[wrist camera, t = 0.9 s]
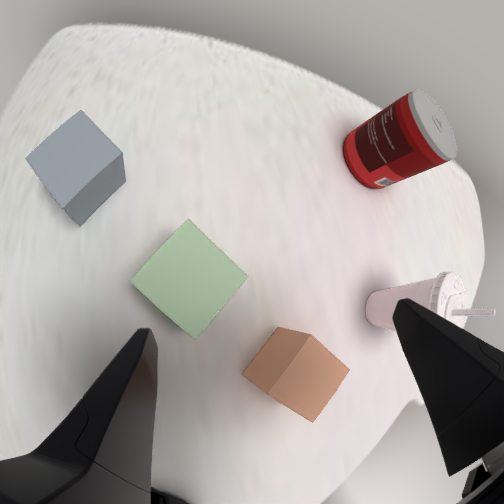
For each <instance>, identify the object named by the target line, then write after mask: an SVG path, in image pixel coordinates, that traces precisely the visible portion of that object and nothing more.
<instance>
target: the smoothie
mask: <svg viewBox="0 0 504 504" xmlns="http://www.w3.org/2000/svg"><path fill="white" fill-rule="evenodd" d="M404 298H409V299H411V300H413V301H415V302H416V303H418V304H420V305H422V306H424V307H425V308H427V309H429V310H431V311H433V312H434V313H436V314H438V315H440V316H441V317H443V318H445V319H447V320H448V321H450V322H452V323H454V324H455V325H457V326H459V327H460V328H463V325H464V321H465V316H487V315H495V313H496V309H495V308H485V309H484V308H483V309H466V294H465V288H464V285H463V282H462V280H461V278H460V276H459V275H458V274H457V273H455V272H443V273H440V274H439V275H438V276H437V278H432V279H428V280H424V281H420V282H416V283H412V284H407V285H403V286H398V287H394V288H389V289H385V290H380V291H375V292H373V293H372V294H371V295H370V296H369V298H368V300H367V302H366V308H365V312H366V317H367V320H368V321H369V323H371V324H372V325H375V326H379V327H382V328H386V329H390V330H394V331H396V329H395V326H394V323H393V319H392V316H393V313H394V310H395V307H396V305H397V302H398V301H399V300H400V299H404Z"/></svg>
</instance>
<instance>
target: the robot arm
mask: <svg viewBox="0 0 504 504" xmlns="http://www.w3.org/2000/svg"><path fill="white" fill-rule="evenodd" d="M392 319H393V323H394V326H395V329H396V331H397V334H398V337H399V340H400V343H401V346H402V349H403V352H404V354H405V357H406V359H407V361H408V363H409V366H410V368H411V370H412V373H413V375H414V377H415V380H416V382H417V385H418V387H419V390H420V392H421V395H422V397H423V400H424V402H425V405H426V407H427V410H428V413H429V416H430V418H431V421H432V424H433V427H434V429H435V433H436V436H437V439H438V442H439V445H440V448H441V452H442V455H443V458H444V462H445V465H446V468H447V472H448V475H449V476H452V475H453V474H455V473H457V472H459V471H460V470H462V469H464V468H465V467H467V466H469V465H471V464H472V463H474V462H475V461H477V460H478V459H481V461H482V463H480V464H479V465H478V466H477V467H475V468H474V469H473V470H471V471H470V472H469V475H468V478H467V481H466V484H465V487H464V490H463V493H462V498H463V499H462V500H461V501H460V502H458V503H457V504H504V352H502V351H500V350H499V349H497V348H494V347H493V346H491V345H489V344H488V343H485V342H484V341H482V340H481V339H479V338H477V337H475V336H474V335H472V334H471V333H469V332H467V331H465V330H464V329H462V328H460V327H459V326H457V325H455V324H454V323H452V322H450V321H448V320H447V319H445V318H443V317H441V316H440V315H438V314H436V313H434V312H433V311H431V310H429V309H427V308H425V307H424V306H422V305H420V304H418V303H416V302H415V301H413V300H411V299H409V298H404V299H400V300H399V301H398V302H397V305H396V307H395V310H394V313H393V316H392ZM157 359H158V348H157V343H156V341H155V338H154V335H153V333H152V330H151V329H150V328H140V329H138V330H137V331H136V332H135V333H134V335H133V336H132V337H131V338H130V339H129V341H128V342H127V343H126V344H125V345H124V346H123V348H122V349H121V350H120V351H119V352H118V354H117V355H116V356H115V357H114V359H113V360H112V361H111V362H110V363H109V365H108V366H107V367H106V368H105V370H104V371H103V372H102V373H101V374H100V376H99V377H98V378H97V379H96V381H95V382H94V383H93V384H92V386H91V387H90V388H89V389H88V391H87V392H86V393H85V394H84V396H83V399H80V401H79V402H78V403H77V405H76V406H75V407H74V408H73V409H72V411H71V412H70V413H69V414H68V416H67V417H66V418H65V419H64V420H63V421H62V422H61V423H60V424H59V425H58V427H57V428H56V429H55V430H54V431H53V432H52V433H51V434H50V435H49V436H48V437H47V438H46V439H45V440H44V441H43V442H42V443H41V444H40V445H39V446H38V447H37V448H36V449H35V450H34V451H32V452H30V453H28V454H26V455H23V456H19V457H15V458H11V459H6V460H2V461H0V504H188V503H186V502H183V501H180V500H178V499H176V498H173V497H171V496H168V495H165V494H163V493H161V492H159V491H157V490H155V489H152V488H151V461H152V444H153V430H154V418H155V408H156V398H157Z"/></svg>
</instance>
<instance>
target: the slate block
mask: <svg viewBox="0 0 504 504" xmlns="http://www.w3.org/2000/svg"><path fill="white" fill-rule="evenodd" d="M25 159H26V160H27V162H28V163H29V165H30V166H31V168H32V169H33V170H34V172H35V173H36V175H37V176H38V177H39V179H40V180H41V181H42V183H43V184H44V185H45V187H46V188H47V189H48V190H49V192H50V193H51V194H52V196H53V197H54V198H55V199H56V201H57V202H58V203H59V204H60V206H61V207H62V208H63V209H64V210H65V211H66V212H67V213H68V215H69V216H70V217H71V218H72V219H73V220H74V221H75V222H76V223H77V224H78V225H79V226H81V225H82V224H83V223H84V222H85V221H86V220H87V219H88V218H89V217H90V216H91V215H92V214H93V213H94V212H95V211H96V210H97V209H98V208H99V207H100V206H101V205H102V204H103V203H104V202H105V201H106V200H107V199H108V198H109V197H110V196H111V195H112V194H113V193H114V192H115V191H116V190H117V189H118V188H119V187H120V186H122V185H123V184H124V183H125V182H126V178H125V170H124V162H123V152H122V151H121V150H120V149H119V148H118V147H117V146H116V145H115V144H114V143H113V142H112V141H111V140H110V139H109V138H108V137H107V136H106V135H105V134H104V133H103V132H102V131H101V130H100V129H99V128H98V127H97V126H96V125H95V124H94V123H93V121H92V120H91V119H90V118H89V117H88V116H87V115H86V114H85V113H84V112H83V111H82V110H80V111H79V112H77V113H76V114H75V115H73V116H72V117H71V118H70V119H68V120H67V121H66V122H65V123H64V124H62V125H61V126H60V127H59V128H58V129H56V130H55V131H54V132H53V133H52V134H51V135H50V136H48V137H47V138H46V139H45V140H44V141H43V142H42V143H41V144H40V145H39V146H38V147H36V148H35V149H34V150H33V151H32V152H31V153H30V154H29V155H28V156H27V157H26V158H25Z"/></svg>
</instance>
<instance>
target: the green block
mask: <svg viewBox="0 0 504 504" xmlns="http://www.w3.org/2000/svg"><path fill="white" fill-rule="evenodd" d="M247 278H248V275H247V274H246V273H245V272H244V271H243V270H242V269H241V268H239V267H238V266H237V265H236V264H235V263H234V262H233V261H232V260H231V259H230V258H229V257H228V256H227V255H226V254H225V253H224V252H223V251H222V250H221V249H220V248H219V247H218V246H217V245H215V244H214V243H213V242H212V241H211V240H210V239H209V238H208V237H207V236H206V235H205V234H204V233H203V232H202V231H201V230H200V229H199V228H198V227H197V226H196V225H195V224H194V223H193V222H192V221H191V220H190V219H189V218H188V219H187V220H186V221H185V222H184V223H183V224H182V225H181V226H180V227H179V228H178V229H177V230H176V231H175V232H174V234H173V235H172V236H171V237H170V238H169V239H168V240H167V241H166V242H165V243H164V244H163V245H162V246H161V247H160V248H159V249H158V250H157V251H156V252H155V253H154V255H153V256H152V257H151V258H150V259H149V260H148V261H147V262H146V263H145V264H144V265H143V266H142V268H141V269H140V270H139V271H138V272H137V273H136V274H135V275H134V276H133V278H132V279H131V280H130V282H131V283H132V284H133V285H134V286H135V287H136V288H137V289H138V290H139V291H140V292H141V293H142V294H144V295H145V296H146V297H147V298H148V299H149V300H150V301H151V302H152V303H153V304H154V305H155V306H156V307H158V308H159V309H160V310H161V311H162V312H163V313H164V314H165V315H167V316H168V317H169V318H170V319H171V320H172V321H173V322H174V323H176V324H177V325H178V326H179V327H180V328H181V329H183V330H184V331H185V332H186V333H187V334H189V335H190V336H191V337H192V338H193V339H195V340H196V339H197V337H198V336H199V335H200V334H201V333H202V331H203V330H204V329H205V328H206V327H207V325H208V324H209V323H210V322H211V321H212V320H213V318H214V317H215V316H216V315H217V314H218V312H219V311H220V310H221V309H222V308H223V306H224V305H225V304H226V303H227V302H228V300H229V299H230V298H231V297H232V296H233V294H234V293H235V292H236V291H237V290H238V288H239V287H240V286H241V285H242V284H243V282H244V281H245V280H246V279H247Z"/></svg>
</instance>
